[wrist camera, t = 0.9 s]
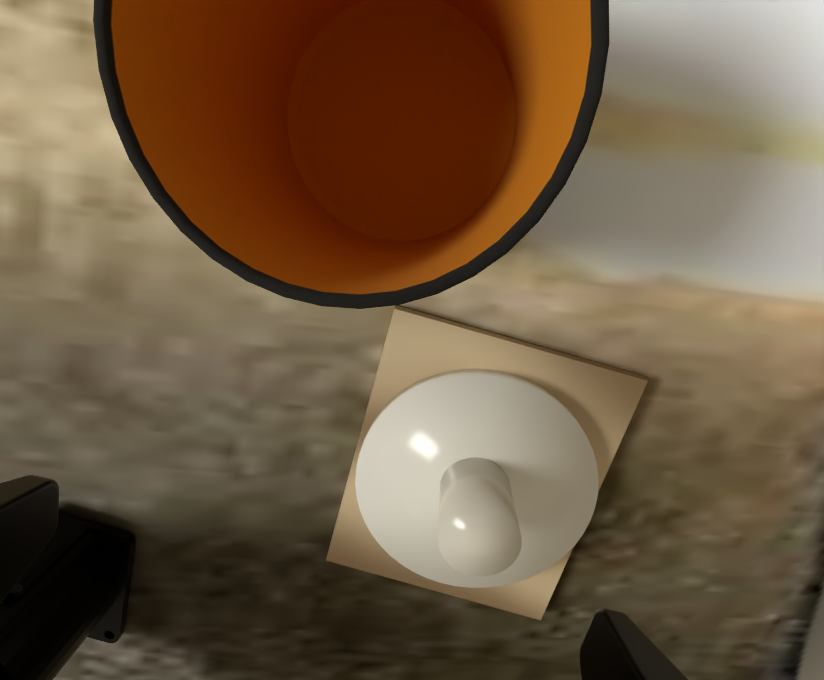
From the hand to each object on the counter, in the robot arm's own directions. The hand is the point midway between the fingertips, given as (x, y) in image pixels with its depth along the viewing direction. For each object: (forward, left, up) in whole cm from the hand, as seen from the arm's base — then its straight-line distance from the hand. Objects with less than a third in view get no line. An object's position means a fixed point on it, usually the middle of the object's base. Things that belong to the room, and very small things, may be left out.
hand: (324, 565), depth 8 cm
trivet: (-5, -5, -13) cm, 14 cm away
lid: (-5, -5, -12) cm, 14 cm away
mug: (+9, +2, -13) cm, 16 cm away
